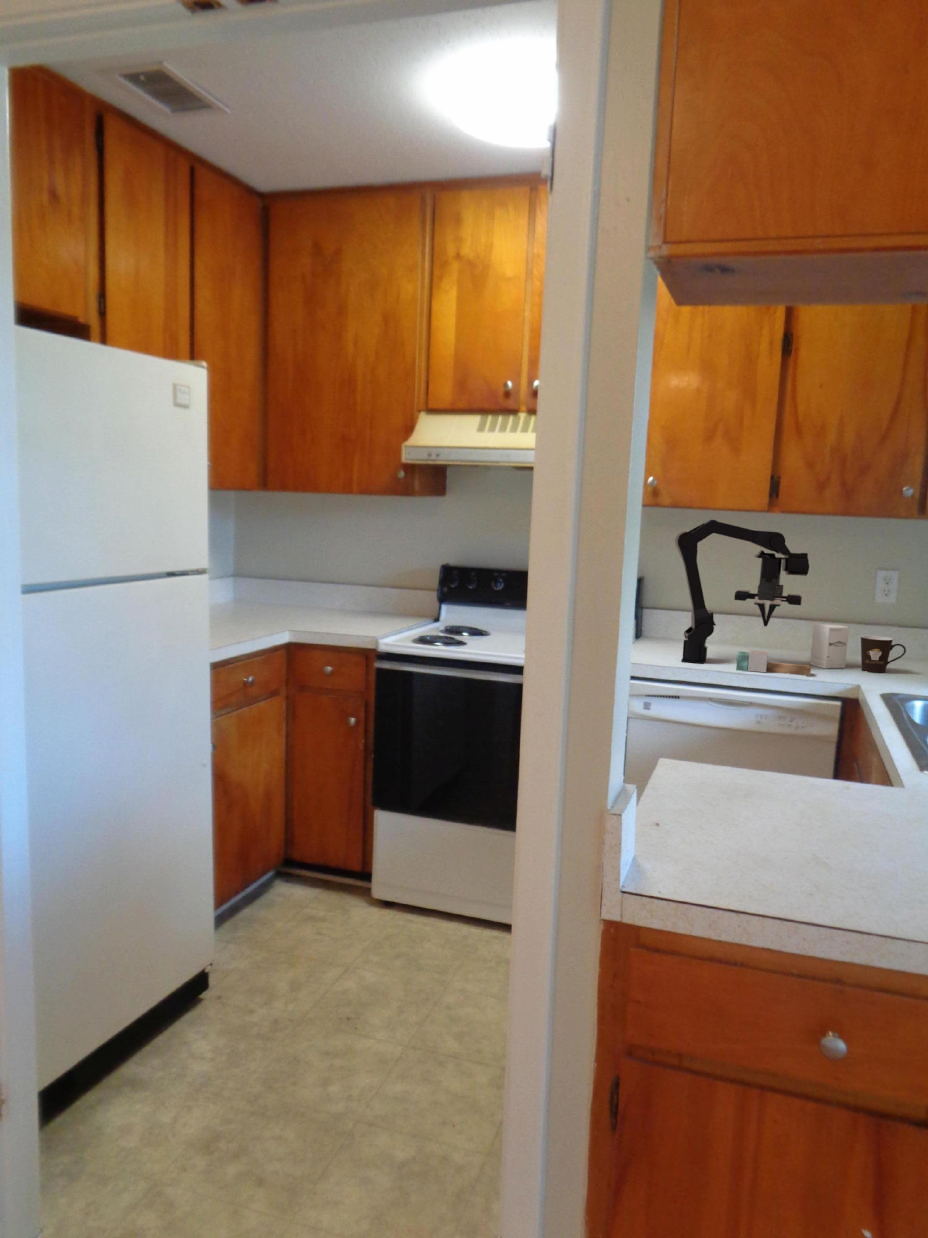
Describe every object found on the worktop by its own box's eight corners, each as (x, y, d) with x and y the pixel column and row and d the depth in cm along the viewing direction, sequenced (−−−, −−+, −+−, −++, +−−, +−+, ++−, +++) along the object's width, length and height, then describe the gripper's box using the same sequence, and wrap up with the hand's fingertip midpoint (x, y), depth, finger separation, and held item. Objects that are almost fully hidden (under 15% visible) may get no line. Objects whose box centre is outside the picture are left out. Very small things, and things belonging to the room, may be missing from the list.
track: (736, 670, 258) (737, 654, 258) (737, 666, 265) (738, 651, 264) (810, 677, 251) (811, 661, 251) (810, 673, 258) (811, 657, 257)
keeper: (747, 670, 257) (749, 653, 257) (749, 666, 264) (750, 649, 263) (765, 672, 255) (767, 655, 255) (766, 668, 262) (768, 651, 261)
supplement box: (824, 668, 266) (828, 626, 264) (809, 664, 273) (812, 623, 272) (845, 668, 268) (849, 626, 266) (829, 664, 275) (833, 623, 274)
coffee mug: (852, 670, 266) (855, 636, 264) (866, 667, 271) (869, 634, 270) (891, 676, 257) (895, 642, 255) (905, 673, 262) (908, 640, 261)
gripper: (734, 573, 261) (730, 626, 263) (802, 578, 254) (797, 632, 256) (738, 571, 271) (734, 622, 273) (804, 575, 264) (799, 628, 266)
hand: (765, 626), depth 267 cm, fingers closed
